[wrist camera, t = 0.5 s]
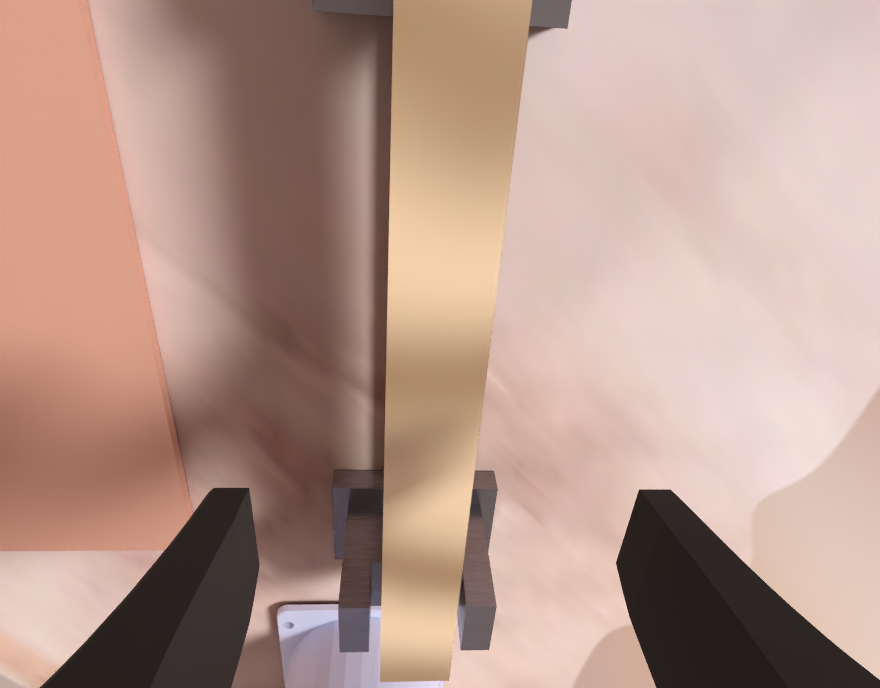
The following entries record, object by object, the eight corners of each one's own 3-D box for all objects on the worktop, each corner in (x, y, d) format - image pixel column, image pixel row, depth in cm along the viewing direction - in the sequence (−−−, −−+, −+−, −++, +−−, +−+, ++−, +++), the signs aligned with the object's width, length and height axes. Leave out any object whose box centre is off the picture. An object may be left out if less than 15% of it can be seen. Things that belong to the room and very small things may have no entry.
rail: (444, 618, 23) (449, 680, 21) (381, 619, 23) (379, 681, 21) (533, -222, 11) (565, -270, 9) (399, -235, 11) (399, -289, 8)
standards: (484, 539, 26) (503, 662, 22) (337, 539, 26) (323, 666, 21) (585, -166, 14) (681, -243, 9) (310, -192, 14) (263, -288, 9)
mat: (198, 540, 25) (195, 549, 25) (-2, 540, 25) (-9, 550, 24) (42, -218, 13) (30, -224, 13) (-362, -256, 12) (-389, -265, 12)
